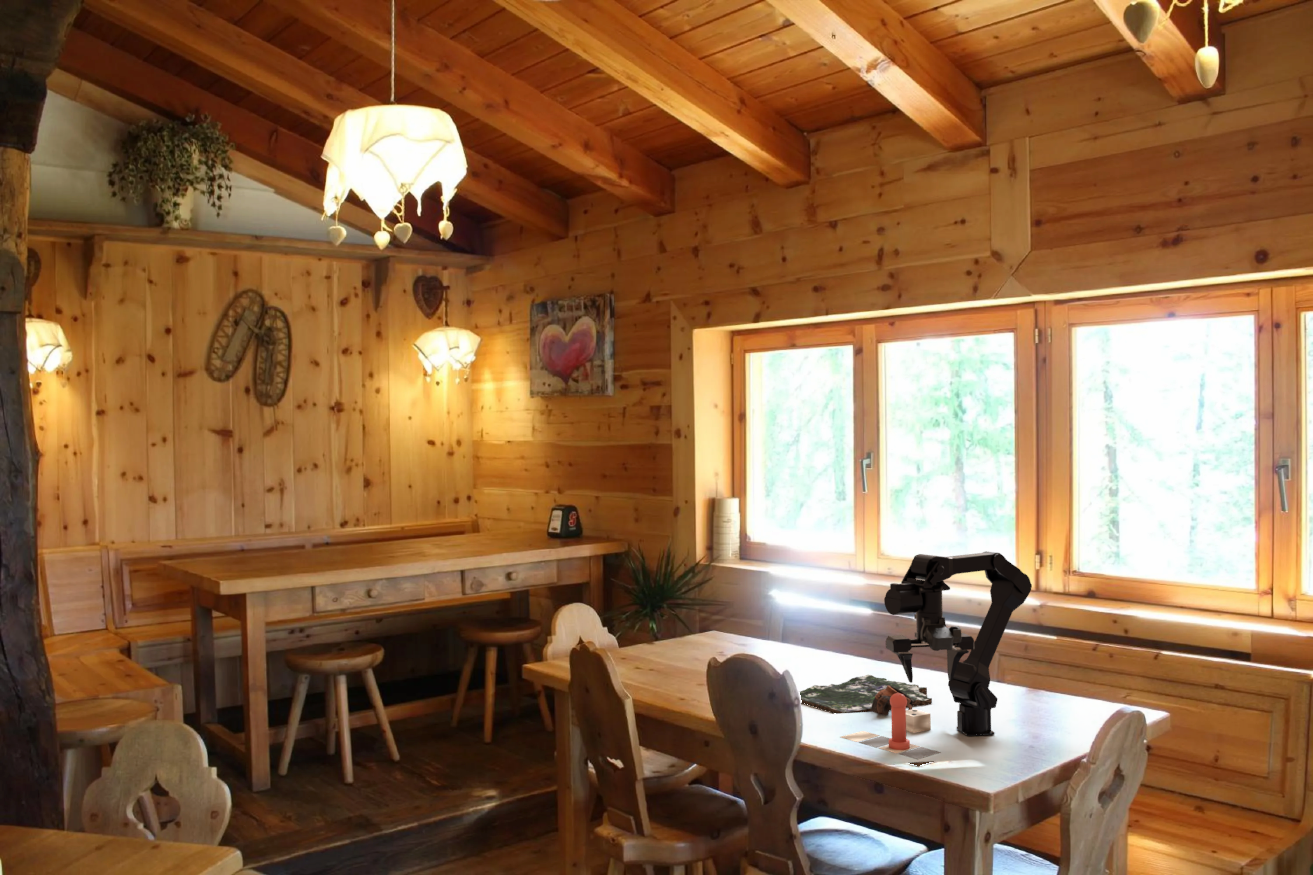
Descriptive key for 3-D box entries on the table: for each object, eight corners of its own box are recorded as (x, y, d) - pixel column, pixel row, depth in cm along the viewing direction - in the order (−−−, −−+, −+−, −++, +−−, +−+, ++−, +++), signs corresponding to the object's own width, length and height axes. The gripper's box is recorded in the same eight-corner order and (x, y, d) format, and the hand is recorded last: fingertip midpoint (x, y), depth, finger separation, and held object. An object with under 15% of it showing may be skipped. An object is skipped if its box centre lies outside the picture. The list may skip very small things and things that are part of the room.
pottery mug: (872, 711, 259) (888, 682, 259) (905, 733, 254) (922, 703, 254) (858, 709, 248) (876, 680, 248) (892, 732, 243) (910, 702, 243)
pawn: (899, 742, 225) (898, 689, 225) (914, 747, 221) (913, 693, 221) (884, 746, 222) (883, 692, 222) (898, 751, 219) (897, 696, 219)
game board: (835, 742, 230) (835, 736, 230) (862, 735, 236) (862, 729, 236) (918, 766, 212) (918, 760, 212) (946, 758, 217) (946, 752, 217)
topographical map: (785, 700, 271) (785, 689, 271) (877, 683, 289) (877, 672, 289) (854, 722, 249) (854, 709, 249) (949, 702, 267) (949, 690, 267)
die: (915, 730, 239) (915, 708, 239) (930, 735, 235) (930, 713, 235) (898, 733, 237) (898, 711, 237) (913, 738, 232) (913, 716, 233)
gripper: (901, 618, 222) (903, 691, 222) (984, 615, 225) (986, 687, 224) (884, 610, 233) (885, 680, 233) (963, 607, 236) (964, 676, 235)
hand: (930, 681), depth 231 cm, fingers open, 9 cm apart
